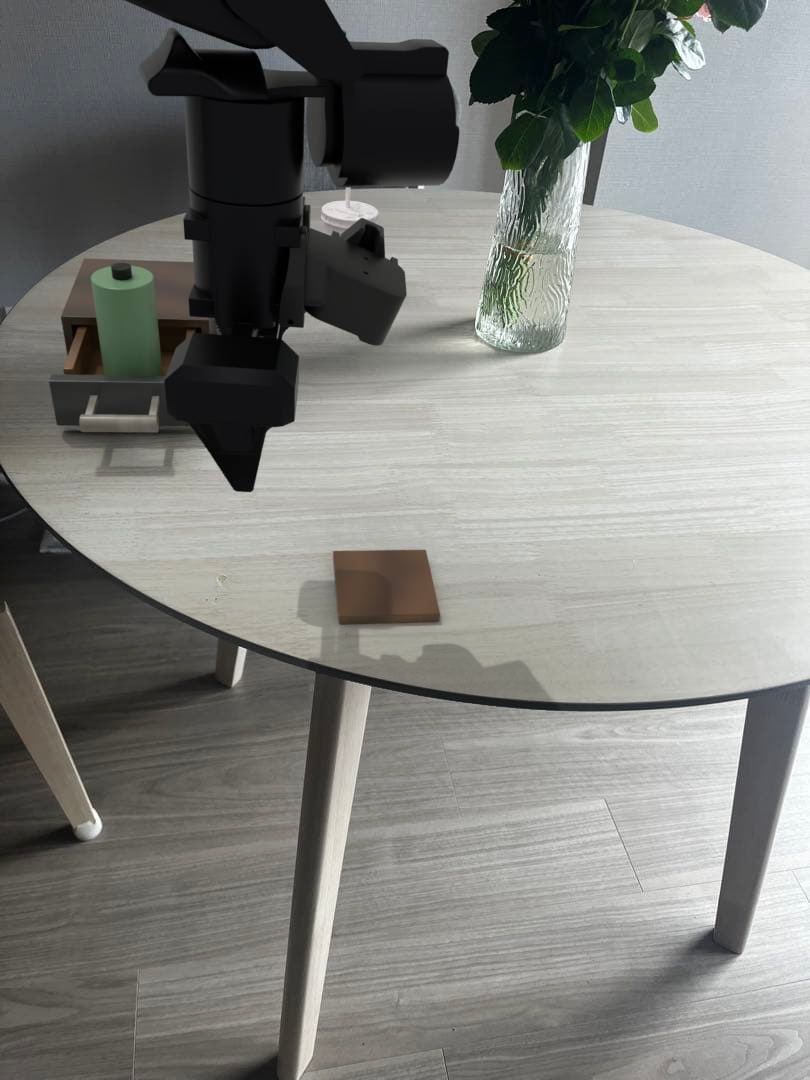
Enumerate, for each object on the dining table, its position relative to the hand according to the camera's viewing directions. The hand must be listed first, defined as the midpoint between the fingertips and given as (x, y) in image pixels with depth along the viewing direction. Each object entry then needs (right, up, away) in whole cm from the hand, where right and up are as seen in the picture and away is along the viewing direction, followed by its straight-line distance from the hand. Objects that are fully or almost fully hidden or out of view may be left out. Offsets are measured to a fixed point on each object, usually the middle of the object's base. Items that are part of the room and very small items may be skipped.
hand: (252, 446), depth 55 cm
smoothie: (+3, +23, +49) cm, 55 cm away
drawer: (-15, +6, +25) cm, 30 cm away
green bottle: (-15, +8, +25) cm, 31 cm away
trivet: (+8, -9, +10) cm, 16 cm away
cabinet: (-16, +14, +35) cm, 42 cm away
